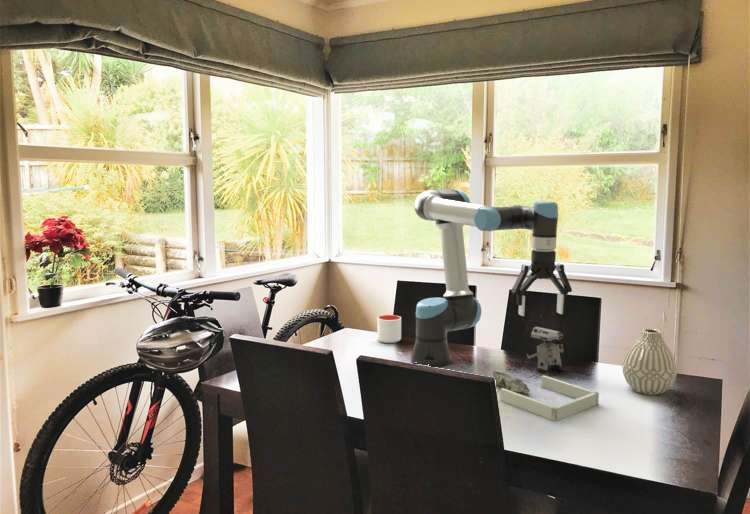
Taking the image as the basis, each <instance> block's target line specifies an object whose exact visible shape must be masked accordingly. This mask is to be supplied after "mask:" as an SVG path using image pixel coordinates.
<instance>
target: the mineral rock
mask: <svg viewBox="0 0 750 514" xmlns="http://www.w3.org/2000/svg"><path fill="white" fill-rule="evenodd" d="M492 376H493V378H495V380H496V385H495V386H497V387H498V386H499V387H500V389H502V388H504V389H507V390H510V391H513V392H515V393H518V394H521V393H525V394H528V393H529V392H530V389H529V387H528V385H527V384H526V383H525V382H523V380H521V378H518V377H515V376H511V375H510V374H508V373H506V372H502V371H495V370H494V371H493V372H492Z"/></svg>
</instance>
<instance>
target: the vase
mask: <svg viewBox="0 0 750 514" xmlns="http://www.w3.org/2000/svg"><path fill="white" fill-rule="evenodd" d="M677 372H678V371H677V364H676V359H675V357H674V354H673V353H672V351H671V349H670V348H669V346H668V345H667V344H666V342H665V341H664V339H663V336H662V332H661V330H658V329H655V328H644V329H642V330H641V332H640V335H639V336H638V338H637V339H636V340H635V341H634V342H633V343H632V344H631V346H630V347H629V348H628V350H627V351H626V353H625V355H624V358H623V362H622V374H623V377H624V379H625V381H626V383H627V385H628V387H630V388H631V389H632V390H634V391H635V392H637V393H639V394H643V395H647V396H658V395H662V394H663V393H665V392H667V391H668V390H670V389H671V387H672V386H673V384H674V383H675V381H676V378H677Z"/></svg>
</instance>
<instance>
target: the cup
mask: <svg viewBox="0 0 750 514" xmlns="http://www.w3.org/2000/svg"><path fill="white" fill-rule="evenodd" d="M377 339H378V342H379V341H380V342H381V343H385V344H394V343H398V342H400V341H401V339H402V316H399V315H397V314H395V315H393V314H385V315H379V316H378V317H377Z"/></svg>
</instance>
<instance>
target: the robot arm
mask: <svg viewBox="0 0 750 514" xmlns="http://www.w3.org/2000/svg"><path fill="white" fill-rule="evenodd" d="M470 200H471V199H470V198H469V196H468V195H467V194H466V193H465V192H464V191H463V190H461V189H453V188H452V189H451V188H449V189H427V190H424V191H422V192H421V193H419V194H418V195H417V197H416V198H415V200H414V211H415V213H416V215H417V217H419V218H420V219H422V220H424V221H429V222H430V221H431V222H435V227H437V229H439V231H440V240H441V251H442V259H443V260H442V261H443V269H444V270H443V271H444V279H445V289H446V290H445V292H444V294H443V295H442V297H437V296H436V297H428V298H424V299H422V300H421V299H420V301H418V302H417V304H416V306H415V307H416V308H415V343H414V345H413V348H412V352H411V355H410V361H411V360H412V361H413V362H417V364H422V365H428V364H429V366H434V367H433V368H436V367H437V368H438V367H443V366H442V365H445V366H447V365H446V364H448V365H450V364H451V363H452V354H451V352H450V347H449V344H448V332H453V331H458V330H467V329H469V328H473V327H475V326H476V325H477V324H478V323H479V321H480V320H481V317H482V306H481V303H480V302H479V300H478V299H477V298H476V297H474V292H473V291H471V290H470V288H469V287H470V286H469V279H468V278H469V277H468V269H467V258H466V248H465V242H464V241H465V240H464V232H463V231H464V229H463V228H464V226H470V227H475V228H477V229H478V230H479V231H482V232H494V231H506V230H529V231H532V235H531V237H532V238H531V248H532V250H531V254H530V255H531V256H530V257H531V259H530V260H531V264H530V265H528V264H527V265H526V264H522V265H521V268H520V273H519V274H518V276H517V278H516V280H515V283H514V284H513V286H512V288H511V290H510V292H511V293H512V294H514V295H515V296H516V305H518V315H519V316H521V317H525V311H526V310H525V308H526V307H525V306H526V305H525V303H526V296H525V293H526V292H527V290H529V288H530V287H531V286H532V284H533V283H534V282H535V281H536V280H537V279H538V280H542V279H545V280H546V279H549V280H550V281H551V282H552V284H553V285H554V286H555V287H556V289H557V290H558V292H557V296H556V313H558V314H559V315H563V314H564V304H566V303H567V301H566V299H567V295H568V294H569V293H571V292H572V291H573V288H572V286H571V284H570V281H569V279H568V277H567V274H566V272H565V265H564V264H562V263H557V264H556V263H555V262H556V256H557V255H556V254H557V253H556V251H555V250H556V249H557V235H558V234H557V233H558V231H557V229H558V219H559V206H558V203H557V202H555V201H545V200H543V201H539V200H538V201H535V202H534V204H533V206H525V205H519V204H518V205H517V204H516V205H509V206H491V205H483V204H479V203H471V201H470ZM555 270H556V271H557V273H558V276H559V279H560V281H559V279H558V278H557V276H556V274H555V273H554V272H555ZM530 271H531V273H530V274H529V275H528V273H529V272H530ZM527 275H528V277H527ZM526 277H527V278H526ZM412 361H411V362H412ZM413 362H412V363H413ZM450 362H451V363H450ZM449 363H450V364H449ZM417 364H416V365H417Z"/></svg>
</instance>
